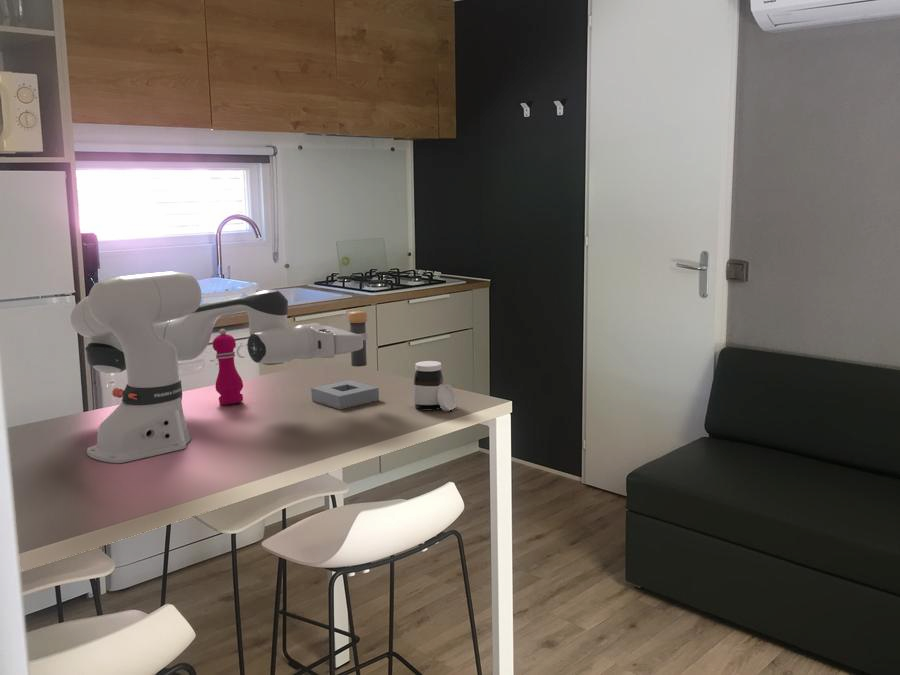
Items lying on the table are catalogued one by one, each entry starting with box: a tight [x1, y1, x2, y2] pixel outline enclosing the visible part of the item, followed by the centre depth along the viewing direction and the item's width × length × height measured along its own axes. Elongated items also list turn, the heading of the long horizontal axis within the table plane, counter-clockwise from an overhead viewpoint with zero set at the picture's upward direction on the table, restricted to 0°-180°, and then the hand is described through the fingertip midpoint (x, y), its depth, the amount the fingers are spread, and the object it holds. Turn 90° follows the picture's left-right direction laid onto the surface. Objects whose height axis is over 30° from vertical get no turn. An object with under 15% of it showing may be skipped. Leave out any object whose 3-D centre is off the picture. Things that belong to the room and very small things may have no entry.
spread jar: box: [413, 360, 458, 412], centre depth 220 cm, size 12×11×12 cm
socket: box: [310, 379, 380, 410], centre depth 230 cm, size 13×13×4 cm
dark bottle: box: [347, 310, 368, 368], centre depth 222 cm, size 5×5×14 cm
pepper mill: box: [212, 328, 244, 405], centre depth 227 cm, size 7×7×20 cm
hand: (360, 334), depth 222 cm, fingers closed on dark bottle, 4 cm apart
